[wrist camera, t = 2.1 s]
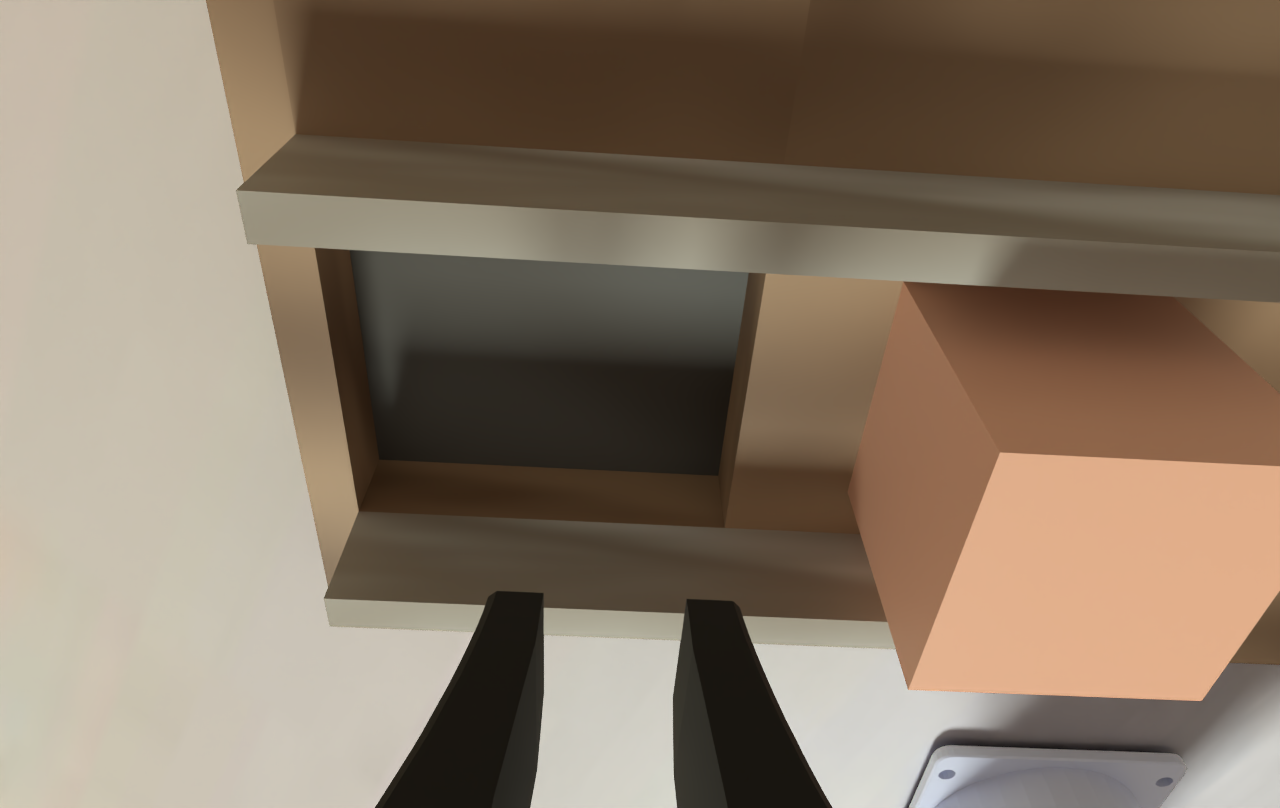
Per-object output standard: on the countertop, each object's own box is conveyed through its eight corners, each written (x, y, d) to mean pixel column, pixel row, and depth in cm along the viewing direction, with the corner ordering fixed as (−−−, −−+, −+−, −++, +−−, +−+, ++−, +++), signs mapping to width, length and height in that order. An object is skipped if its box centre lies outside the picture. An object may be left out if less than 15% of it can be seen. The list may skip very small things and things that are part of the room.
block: (1076, 502, 18) (1201, 700, 14) (847, 491, 18) (909, 689, 14) (1172, 296, 16) (1364, 470, 11) (903, 281, 15) (999, 453, 11)
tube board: (1461, 613, 23) (1615, 764, 20) (358, 566, 22) (303, 716, 19) (1986, 31, 15) (2433, 103, 11) (242, -94, 14) (97, -59, 10)
